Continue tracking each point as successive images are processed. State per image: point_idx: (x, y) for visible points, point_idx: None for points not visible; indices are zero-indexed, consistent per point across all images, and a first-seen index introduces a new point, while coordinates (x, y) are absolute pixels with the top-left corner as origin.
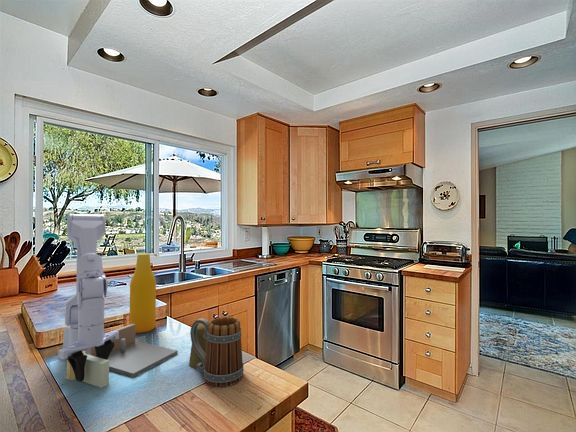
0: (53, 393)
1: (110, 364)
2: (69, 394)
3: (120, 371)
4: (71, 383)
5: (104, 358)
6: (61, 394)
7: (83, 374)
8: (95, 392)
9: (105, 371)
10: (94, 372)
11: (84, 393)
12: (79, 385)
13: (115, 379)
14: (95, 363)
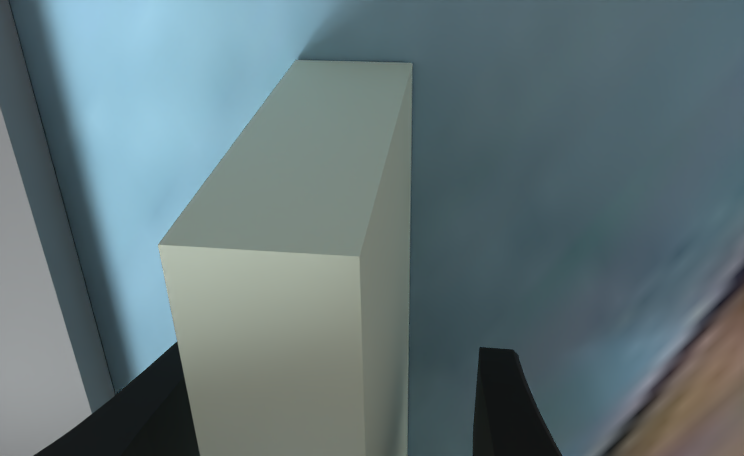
0: (704, 442)
1: (52, 403)
2: (675, 288)
3: (40, 182)
4: None
5: (124, 453)
6: (699, 362)
7: (497, 402)
8: (529, 29)
9: (307, 147)
10: (392, 312)
11: (600, 147)
12: None
13: (173, 91)
14: (370, 411)
